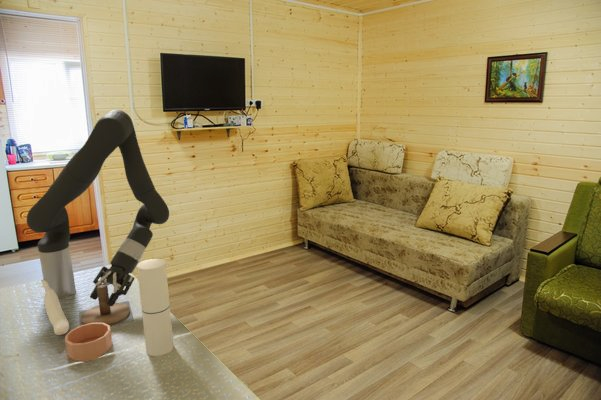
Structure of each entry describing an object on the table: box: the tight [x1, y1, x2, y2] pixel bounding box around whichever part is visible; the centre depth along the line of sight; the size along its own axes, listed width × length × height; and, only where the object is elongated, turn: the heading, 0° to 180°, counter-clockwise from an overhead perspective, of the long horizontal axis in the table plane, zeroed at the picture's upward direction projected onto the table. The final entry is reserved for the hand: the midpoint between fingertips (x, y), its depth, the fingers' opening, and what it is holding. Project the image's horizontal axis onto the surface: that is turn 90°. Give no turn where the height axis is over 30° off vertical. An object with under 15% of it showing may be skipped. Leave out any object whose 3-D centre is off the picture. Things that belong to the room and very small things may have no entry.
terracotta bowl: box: [64, 323, 113, 363], centre depth 115 cm, size 11×11×5 cm
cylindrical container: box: [136, 258, 175, 357], centre depth 112 cm, size 7×7×25 cm
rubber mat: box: [78, 300, 135, 328], centre depth 132 cm, size 15×15×1 cm
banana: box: [40, 279, 70, 336], centre depth 123 cm, size 5×19×15 cm, turn 41°
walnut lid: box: [81, 285, 130, 325], centre depth 131 cm, size 14×14×10 cm
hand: (100, 302), depth 130 cm, fingers open, 8 cm apart
